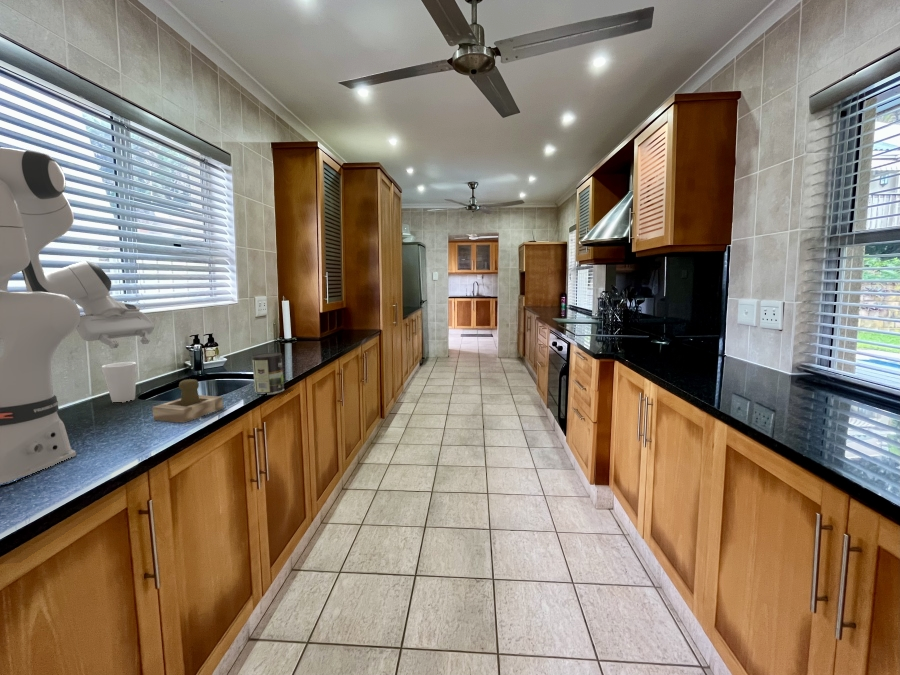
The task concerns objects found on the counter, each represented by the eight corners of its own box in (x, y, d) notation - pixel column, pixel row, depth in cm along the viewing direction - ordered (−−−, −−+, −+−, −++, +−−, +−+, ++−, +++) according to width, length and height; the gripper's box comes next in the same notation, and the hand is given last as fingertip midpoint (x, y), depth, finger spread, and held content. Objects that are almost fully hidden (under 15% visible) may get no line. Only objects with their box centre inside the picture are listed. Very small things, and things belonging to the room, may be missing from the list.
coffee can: (284, 386, 160) (282, 351, 158) (284, 393, 150) (281, 355, 148) (255, 389, 156) (252, 353, 154) (253, 396, 146) (250, 358, 144)
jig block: (184, 423, 119) (182, 409, 118) (153, 419, 122) (152, 406, 122) (223, 408, 132) (222, 396, 131) (195, 406, 136) (193, 394, 135)
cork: (192, 417, 124) (189, 382, 122) (175, 416, 124) (171, 381, 123) (207, 411, 130) (204, 377, 128) (190, 410, 130) (187, 377, 129)
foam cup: (139, 395, 151) (135, 360, 149) (141, 400, 144) (136, 364, 142) (106, 400, 145) (101, 364, 143) (106, 405, 138) (101, 368, 136)
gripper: (71, 308, 119) (98, 342, 117) (142, 305, 138) (166, 334, 137) (63, 323, 121) (90, 357, 119) (134, 318, 140) (158, 346, 139)
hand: (131, 344), depth 128 cm, fingers open, 8 cm apart
